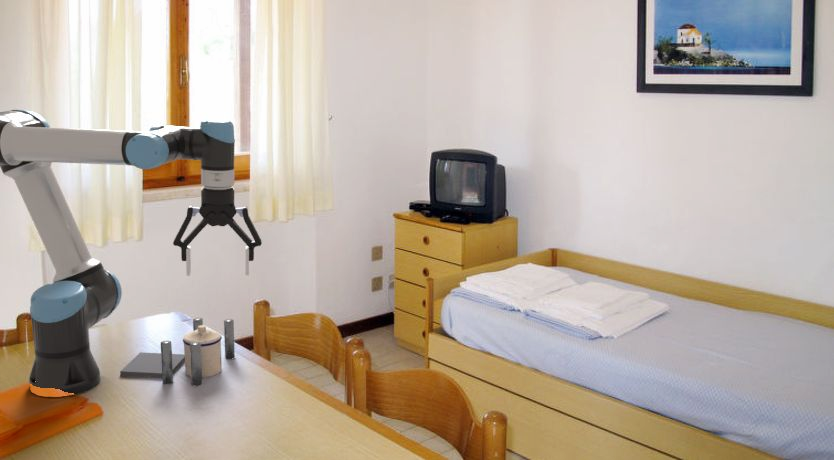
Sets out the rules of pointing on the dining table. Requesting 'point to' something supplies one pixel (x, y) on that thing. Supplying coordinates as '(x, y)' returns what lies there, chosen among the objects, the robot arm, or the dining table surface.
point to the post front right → (196, 363)
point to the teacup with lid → (204, 350)
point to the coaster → (150, 365)
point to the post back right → (229, 338)
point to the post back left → (197, 323)
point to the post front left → (166, 362)
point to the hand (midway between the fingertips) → (218, 273)
